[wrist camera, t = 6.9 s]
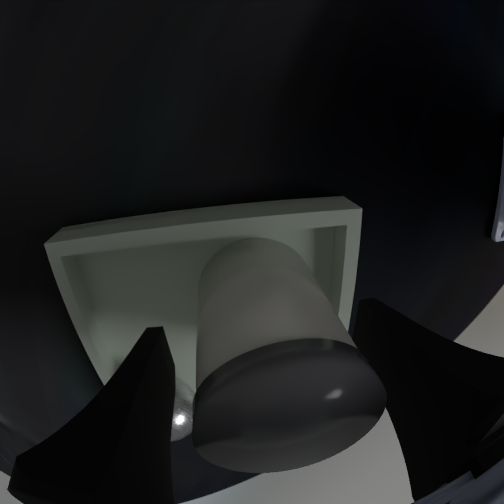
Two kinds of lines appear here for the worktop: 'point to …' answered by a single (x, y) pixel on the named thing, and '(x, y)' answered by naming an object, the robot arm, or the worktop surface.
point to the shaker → (275, 365)
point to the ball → (182, 411)
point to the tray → (188, 269)
